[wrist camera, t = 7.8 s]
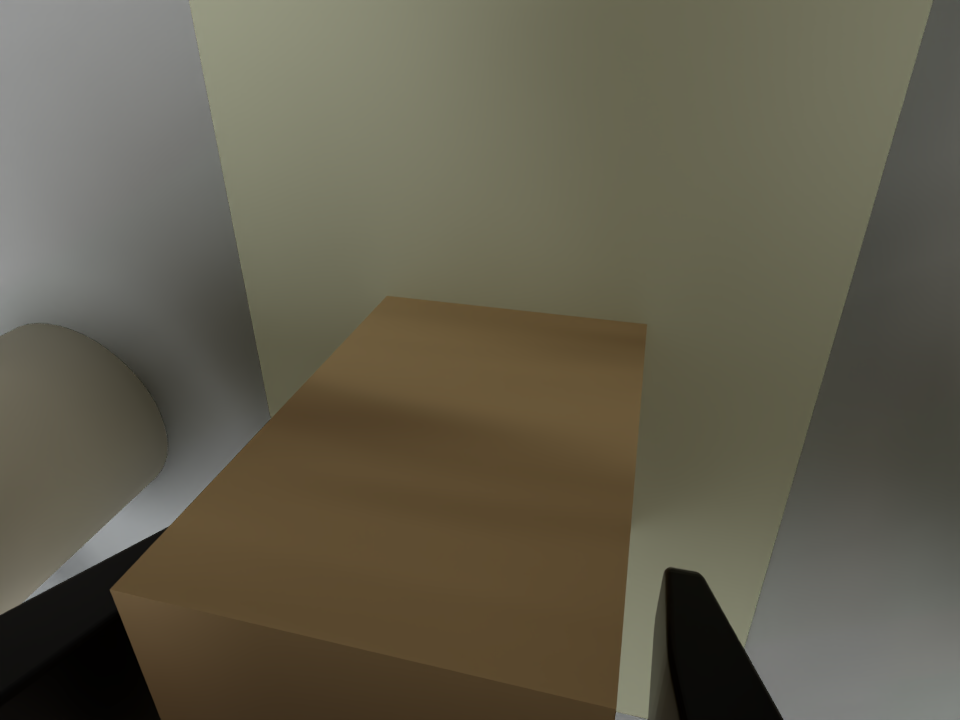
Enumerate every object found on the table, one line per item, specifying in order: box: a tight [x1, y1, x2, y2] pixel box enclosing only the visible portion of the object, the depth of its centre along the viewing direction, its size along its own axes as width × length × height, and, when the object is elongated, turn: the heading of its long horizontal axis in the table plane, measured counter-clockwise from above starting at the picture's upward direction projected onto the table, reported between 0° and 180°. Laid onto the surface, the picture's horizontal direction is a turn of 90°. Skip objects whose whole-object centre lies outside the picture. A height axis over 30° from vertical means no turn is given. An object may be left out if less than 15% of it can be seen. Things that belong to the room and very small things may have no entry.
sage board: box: [189, 0, 933, 719], centre depth 11 cm, size 14×9×1 cm, turn 1°
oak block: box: [110, 296, 647, 720], centre depth 8 cm, size 4×4×6 cm
